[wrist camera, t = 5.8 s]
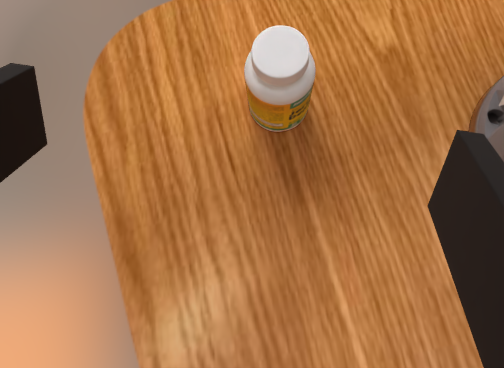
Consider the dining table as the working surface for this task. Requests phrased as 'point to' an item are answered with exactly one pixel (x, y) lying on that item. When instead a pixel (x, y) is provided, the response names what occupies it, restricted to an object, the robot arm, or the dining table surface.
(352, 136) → the dining table surface
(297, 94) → the supplement bottle
